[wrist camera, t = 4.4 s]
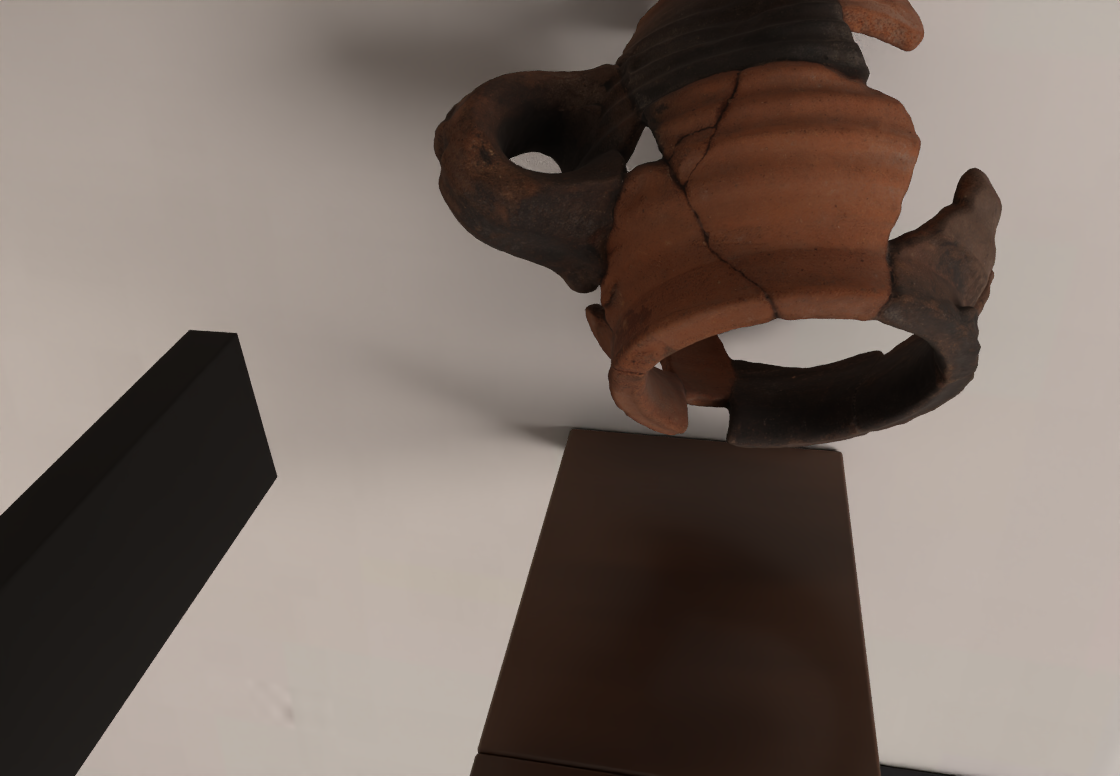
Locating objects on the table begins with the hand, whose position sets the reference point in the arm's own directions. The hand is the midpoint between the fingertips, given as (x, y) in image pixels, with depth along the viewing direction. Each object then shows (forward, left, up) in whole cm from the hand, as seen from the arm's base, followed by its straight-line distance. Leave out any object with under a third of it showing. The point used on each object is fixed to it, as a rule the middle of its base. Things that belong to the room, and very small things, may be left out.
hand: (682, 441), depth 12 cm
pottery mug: (0, 0, -11) cm, 11 cm away
